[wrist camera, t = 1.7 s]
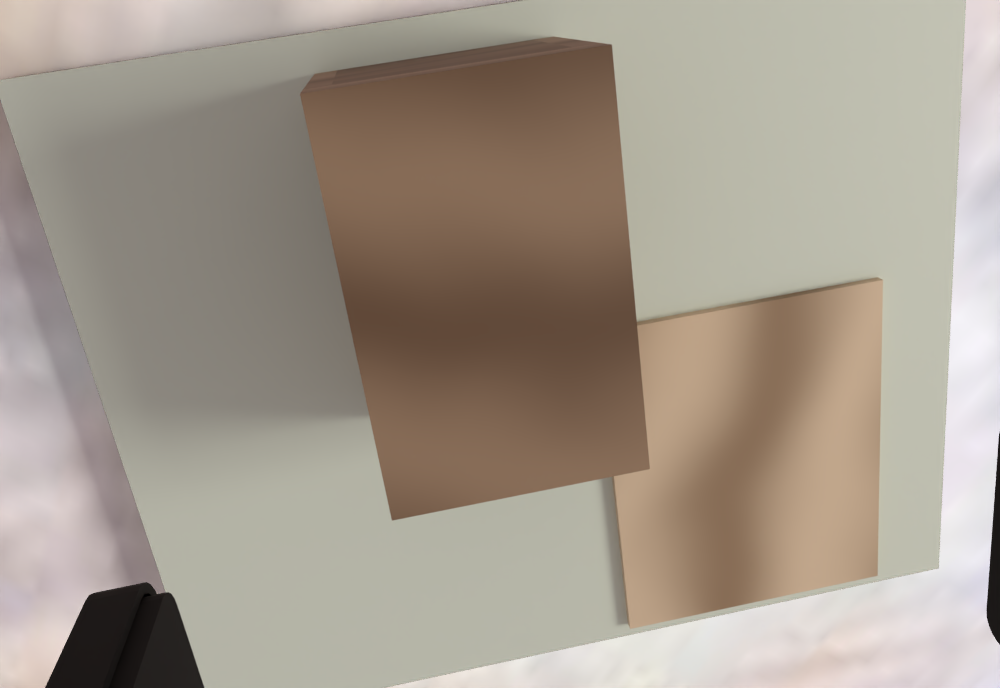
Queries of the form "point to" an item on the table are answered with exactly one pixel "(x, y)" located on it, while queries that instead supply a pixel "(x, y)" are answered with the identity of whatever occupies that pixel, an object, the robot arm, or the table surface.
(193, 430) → the sage board
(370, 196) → the walnut cover
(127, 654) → the robot arm
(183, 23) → the table surface
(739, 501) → the cork pad
